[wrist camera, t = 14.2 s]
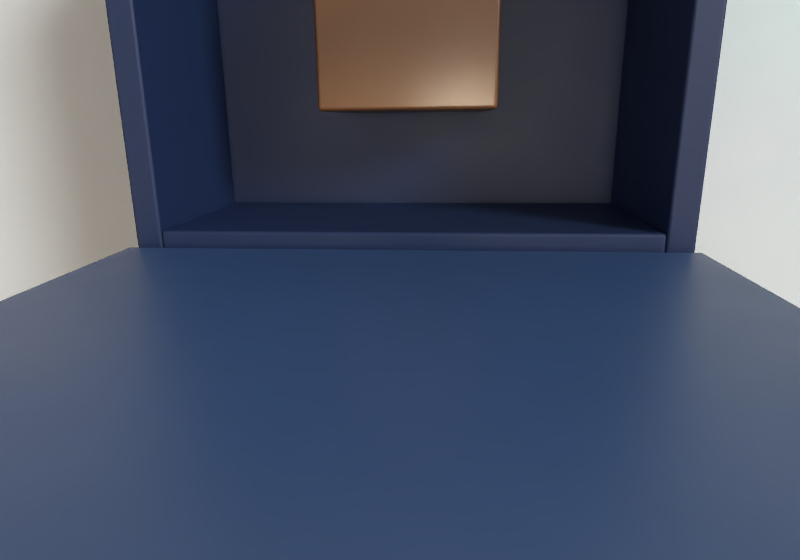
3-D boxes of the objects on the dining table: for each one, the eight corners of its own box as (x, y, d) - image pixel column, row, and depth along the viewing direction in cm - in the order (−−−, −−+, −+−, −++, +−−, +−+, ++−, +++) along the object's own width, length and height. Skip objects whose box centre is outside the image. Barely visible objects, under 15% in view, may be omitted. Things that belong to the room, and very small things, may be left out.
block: (340, -44, 15) (308, -91, 12) (493, -50, 15) (505, -100, 11) (346, 112, 16) (317, 111, 13) (488, 111, 16) (498, 109, 13)
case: (194, -116, 16) (72, -226, 11) (658, -140, 15) (763, -274, 10) (225, 218, 18) (138, 256, 13) (623, 220, 17) (694, 262, 12)
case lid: (-780, 618, 3) (-722, 697, 4) (1735, 824, 2) (1642, 921, 2) (128, 246, 13) (132, 272, 13) (703, 251, 12) (698, 280, 12)
